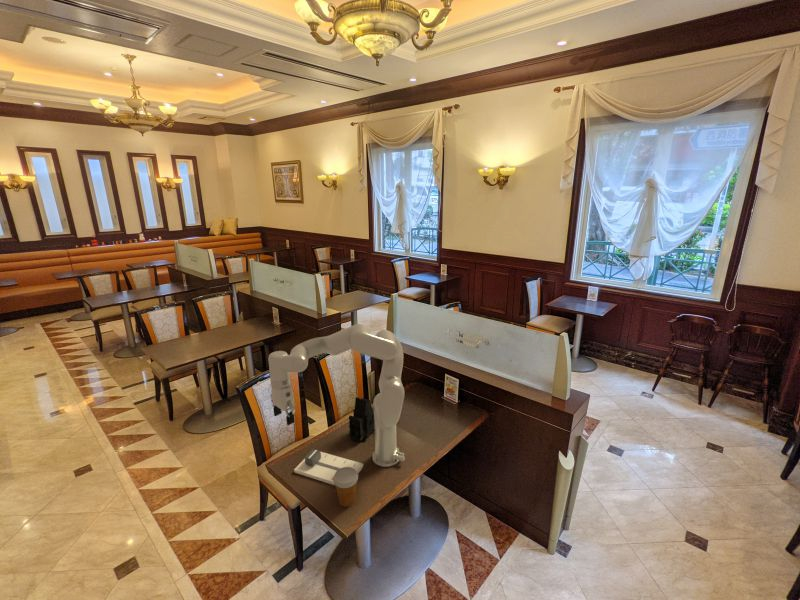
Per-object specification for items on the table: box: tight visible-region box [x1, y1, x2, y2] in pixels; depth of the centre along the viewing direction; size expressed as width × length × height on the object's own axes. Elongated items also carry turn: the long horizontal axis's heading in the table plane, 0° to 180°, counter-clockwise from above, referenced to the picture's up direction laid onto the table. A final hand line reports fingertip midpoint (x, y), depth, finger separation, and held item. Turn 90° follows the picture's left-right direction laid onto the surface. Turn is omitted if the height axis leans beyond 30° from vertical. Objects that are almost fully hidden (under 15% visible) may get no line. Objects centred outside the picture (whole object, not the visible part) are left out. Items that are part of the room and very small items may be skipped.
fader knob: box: [304, 448, 322, 466], centre depth 162 cm, size 4×6×4 cm, turn 158°
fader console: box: [293, 451, 364, 486], centre depth 160 cm, size 26×14×2 cm, turn 68°
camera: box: [348, 396, 375, 442], centre depth 180 cm, size 10×14×20 cm
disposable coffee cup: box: [333, 467, 359, 508], centre depth 142 cm, size 10×10×12 cm
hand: (284, 419), depth 153 cm, fingers open, 9 cm apart
